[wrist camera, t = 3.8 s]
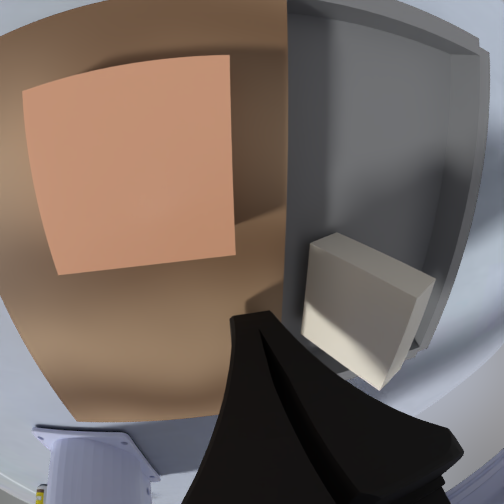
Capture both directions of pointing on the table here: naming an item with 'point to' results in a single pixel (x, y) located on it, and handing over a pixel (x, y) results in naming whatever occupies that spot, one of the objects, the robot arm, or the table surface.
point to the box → (382, 143)
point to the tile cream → (362, 306)
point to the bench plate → (157, 275)
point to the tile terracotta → (134, 163)
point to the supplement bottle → (41, 494)
